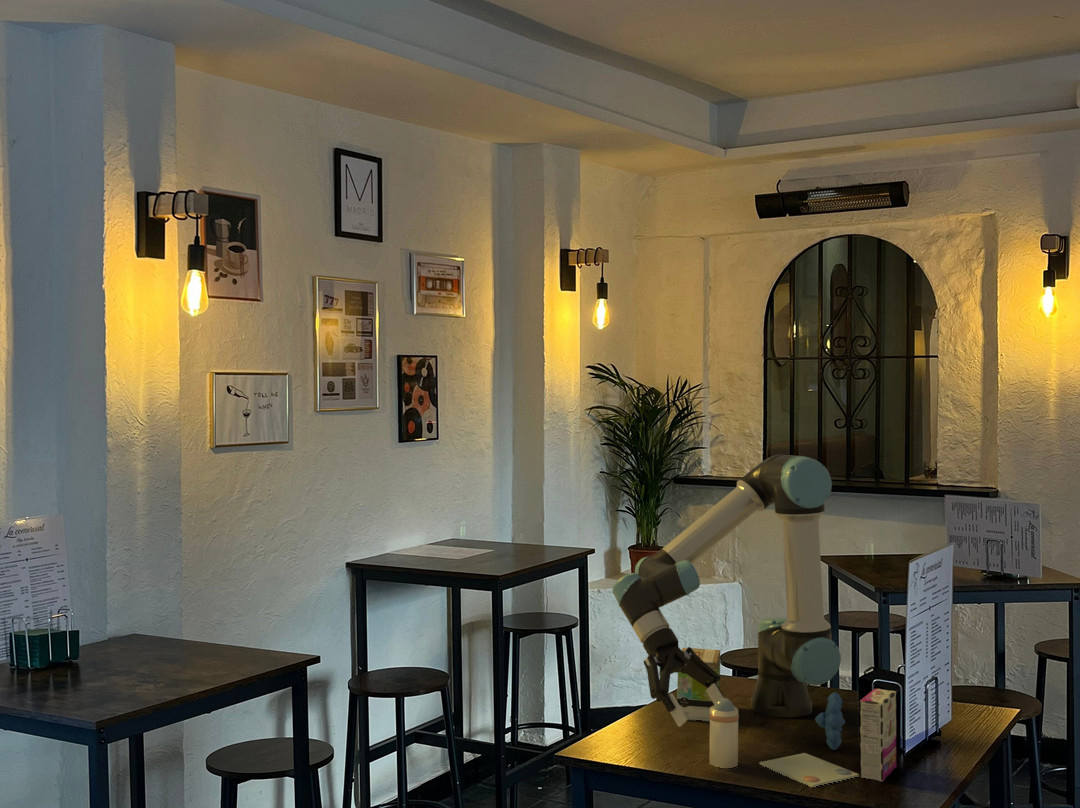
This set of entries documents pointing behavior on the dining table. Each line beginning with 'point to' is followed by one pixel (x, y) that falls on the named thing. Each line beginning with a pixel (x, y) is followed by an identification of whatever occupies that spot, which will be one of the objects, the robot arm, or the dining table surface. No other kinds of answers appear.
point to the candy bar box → (878, 734)
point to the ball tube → (724, 734)
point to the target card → (808, 769)
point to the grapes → (832, 720)
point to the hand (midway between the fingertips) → (704, 717)
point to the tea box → (697, 688)
